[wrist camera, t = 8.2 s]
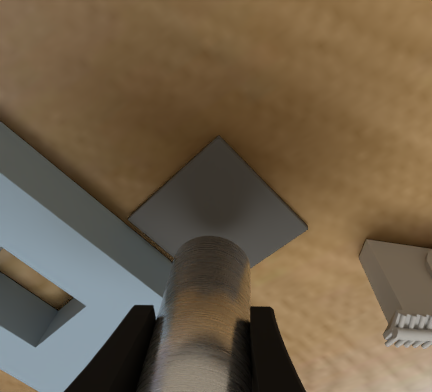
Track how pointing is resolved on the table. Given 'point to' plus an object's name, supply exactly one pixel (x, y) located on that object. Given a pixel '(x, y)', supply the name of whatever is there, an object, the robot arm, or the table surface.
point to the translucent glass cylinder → (202, 322)
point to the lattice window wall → (401, 290)
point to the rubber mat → (218, 206)
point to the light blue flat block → (65, 269)
